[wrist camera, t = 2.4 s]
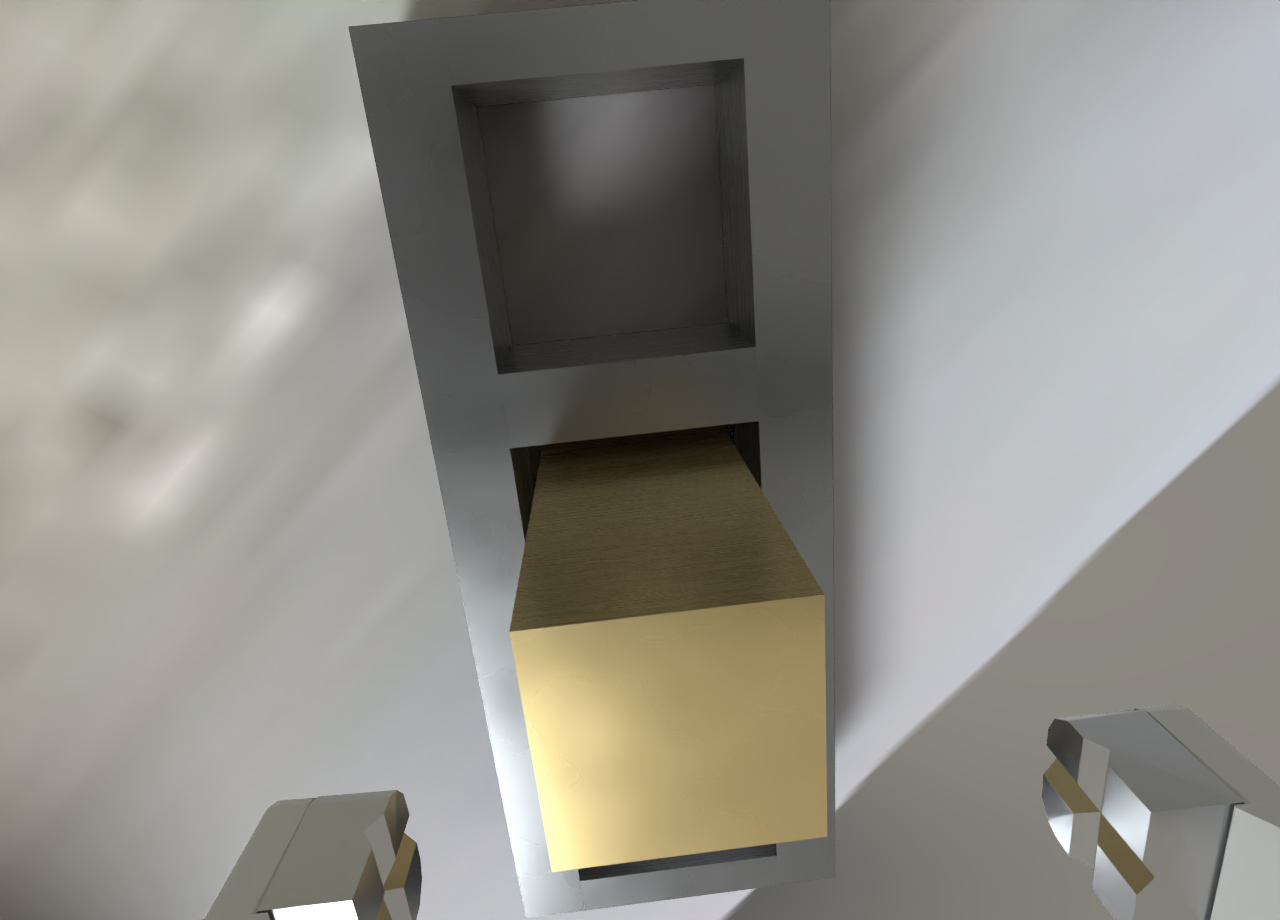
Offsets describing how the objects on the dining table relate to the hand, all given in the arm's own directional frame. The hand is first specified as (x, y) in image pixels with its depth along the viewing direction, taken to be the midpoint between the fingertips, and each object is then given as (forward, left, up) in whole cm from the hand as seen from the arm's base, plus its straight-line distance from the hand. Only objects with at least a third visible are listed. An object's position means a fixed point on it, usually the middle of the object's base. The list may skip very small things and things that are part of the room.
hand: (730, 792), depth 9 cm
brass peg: (-1, 0, -10) cm, 10 cm away
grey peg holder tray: (-1, 0, -10) cm, 10 cm away
